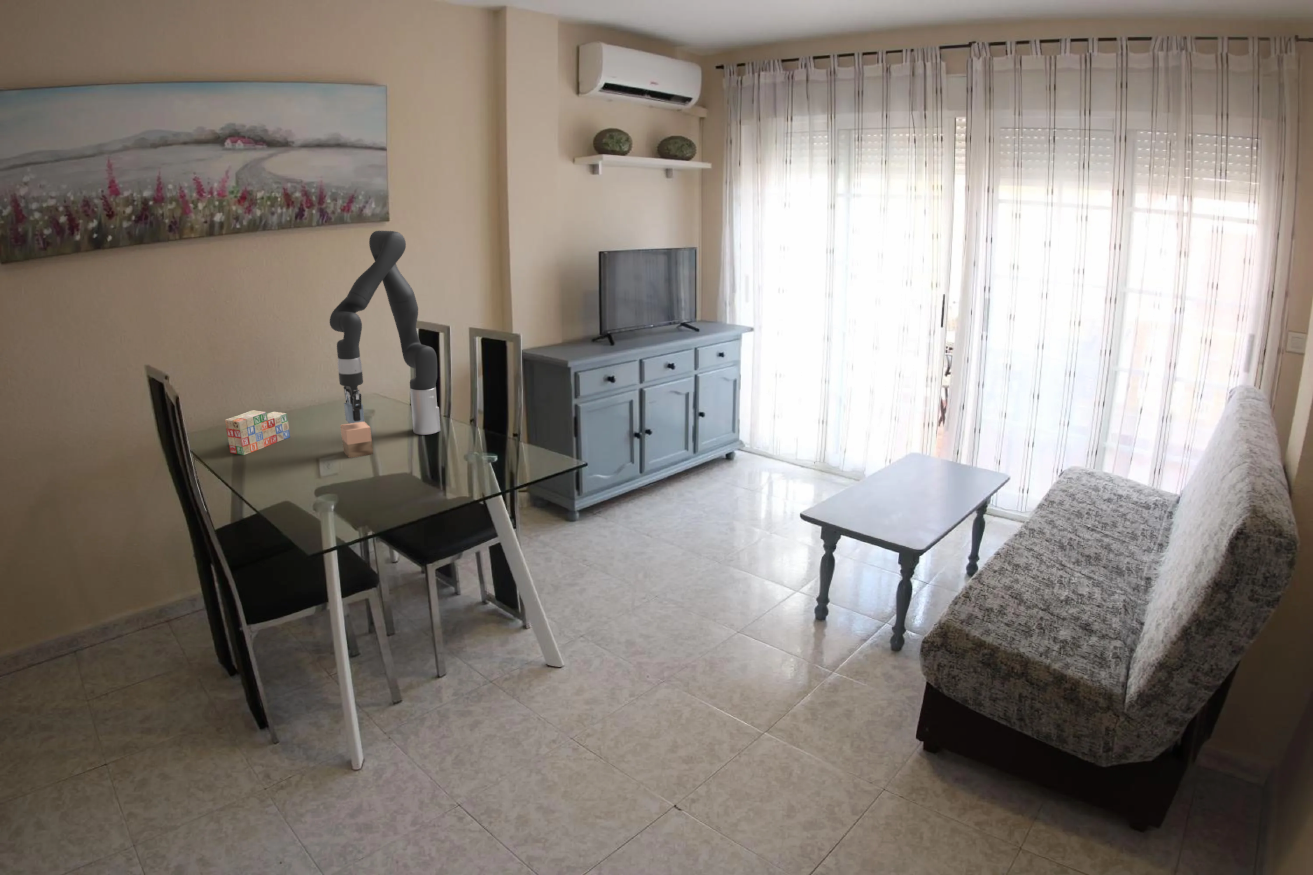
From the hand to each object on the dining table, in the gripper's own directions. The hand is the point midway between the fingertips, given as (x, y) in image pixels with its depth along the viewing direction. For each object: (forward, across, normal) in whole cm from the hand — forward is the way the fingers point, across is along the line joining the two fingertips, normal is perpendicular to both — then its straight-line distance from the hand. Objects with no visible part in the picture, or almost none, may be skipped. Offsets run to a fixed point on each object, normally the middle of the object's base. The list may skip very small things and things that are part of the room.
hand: (354, 418), depth 276 cm
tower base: (+13, 0, 0) cm, 13 cm away
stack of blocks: (+13, +26, +27) cm, 40 cm away
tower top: (+8, 0, 0) cm, 8 cm away
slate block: (+1, 0, 0) cm, 1 cm away
